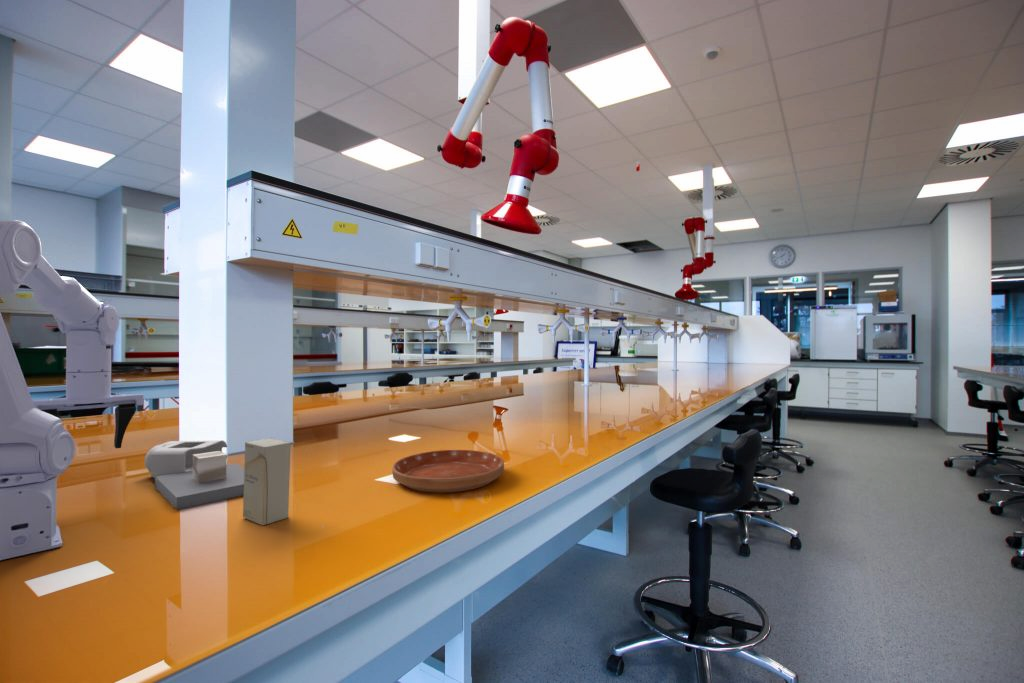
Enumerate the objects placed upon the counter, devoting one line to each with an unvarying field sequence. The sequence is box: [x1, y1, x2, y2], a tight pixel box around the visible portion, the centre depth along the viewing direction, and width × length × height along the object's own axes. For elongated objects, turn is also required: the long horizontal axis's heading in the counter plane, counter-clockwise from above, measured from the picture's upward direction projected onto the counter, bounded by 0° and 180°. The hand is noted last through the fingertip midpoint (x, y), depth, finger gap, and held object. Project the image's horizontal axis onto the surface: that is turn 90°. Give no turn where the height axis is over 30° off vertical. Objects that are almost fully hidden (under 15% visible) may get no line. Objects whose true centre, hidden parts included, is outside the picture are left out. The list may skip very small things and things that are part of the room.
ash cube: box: [193, 451, 227, 483], centre depth 89 cm, size 4×4×4 cm
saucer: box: [391, 449, 505, 494], centre depth 96 cm, size 23×23×4 cm
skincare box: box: [242, 437, 292, 526], centre depth 74 cm, size 6×4×12 cm
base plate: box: [154, 462, 244, 510], centre depth 89 cm, size 18×14×2 cm
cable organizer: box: [144, 439, 228, 479], centre depth 99 cm, size 7×12×12 cm
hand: (88, 451), depth 79 cm, fingers open, 7 cm apart
